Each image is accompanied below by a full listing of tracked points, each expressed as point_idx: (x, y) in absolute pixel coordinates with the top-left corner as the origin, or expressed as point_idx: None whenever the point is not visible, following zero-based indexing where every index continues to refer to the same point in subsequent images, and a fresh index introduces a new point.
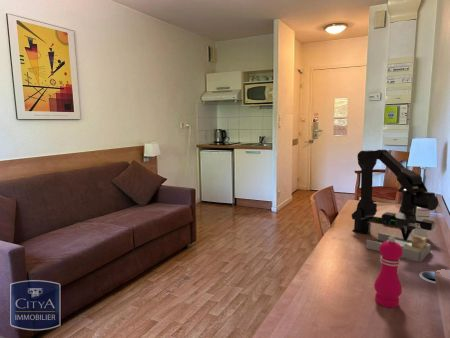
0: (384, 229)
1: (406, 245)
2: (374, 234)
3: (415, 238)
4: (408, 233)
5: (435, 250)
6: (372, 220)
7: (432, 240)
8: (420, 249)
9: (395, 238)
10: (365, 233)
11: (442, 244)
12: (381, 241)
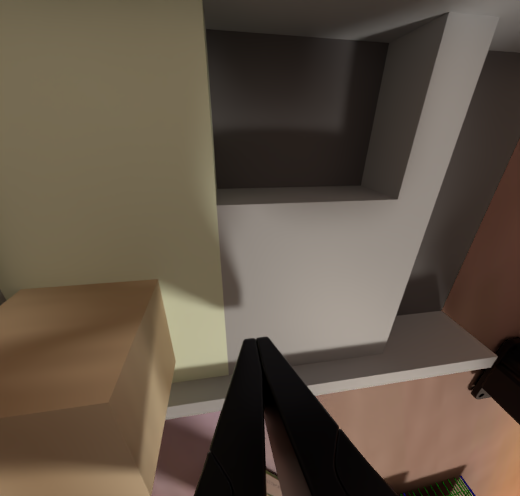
0: (401, 451)
1: (218, 276)
2: (450, 374)
3: (47, 401)
4: (215, 476)
5: None
6: (450, 483)
7: (181, 493)
8: (36, 269)
9: (350, 362)
10: (511, 344)
11: None
12: (417, 299)
